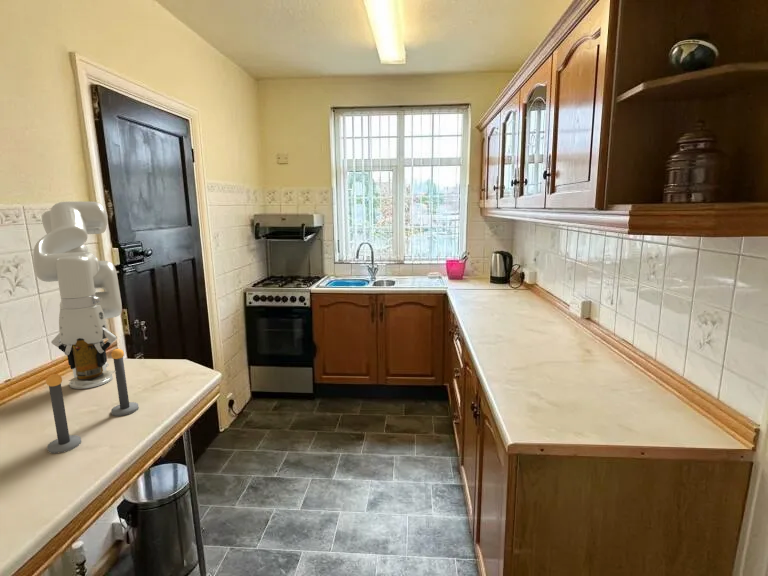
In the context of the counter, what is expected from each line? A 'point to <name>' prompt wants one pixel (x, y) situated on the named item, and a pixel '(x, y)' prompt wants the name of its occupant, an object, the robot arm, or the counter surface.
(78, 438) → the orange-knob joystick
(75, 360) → the condiment
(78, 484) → the counter surface
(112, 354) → the stand
